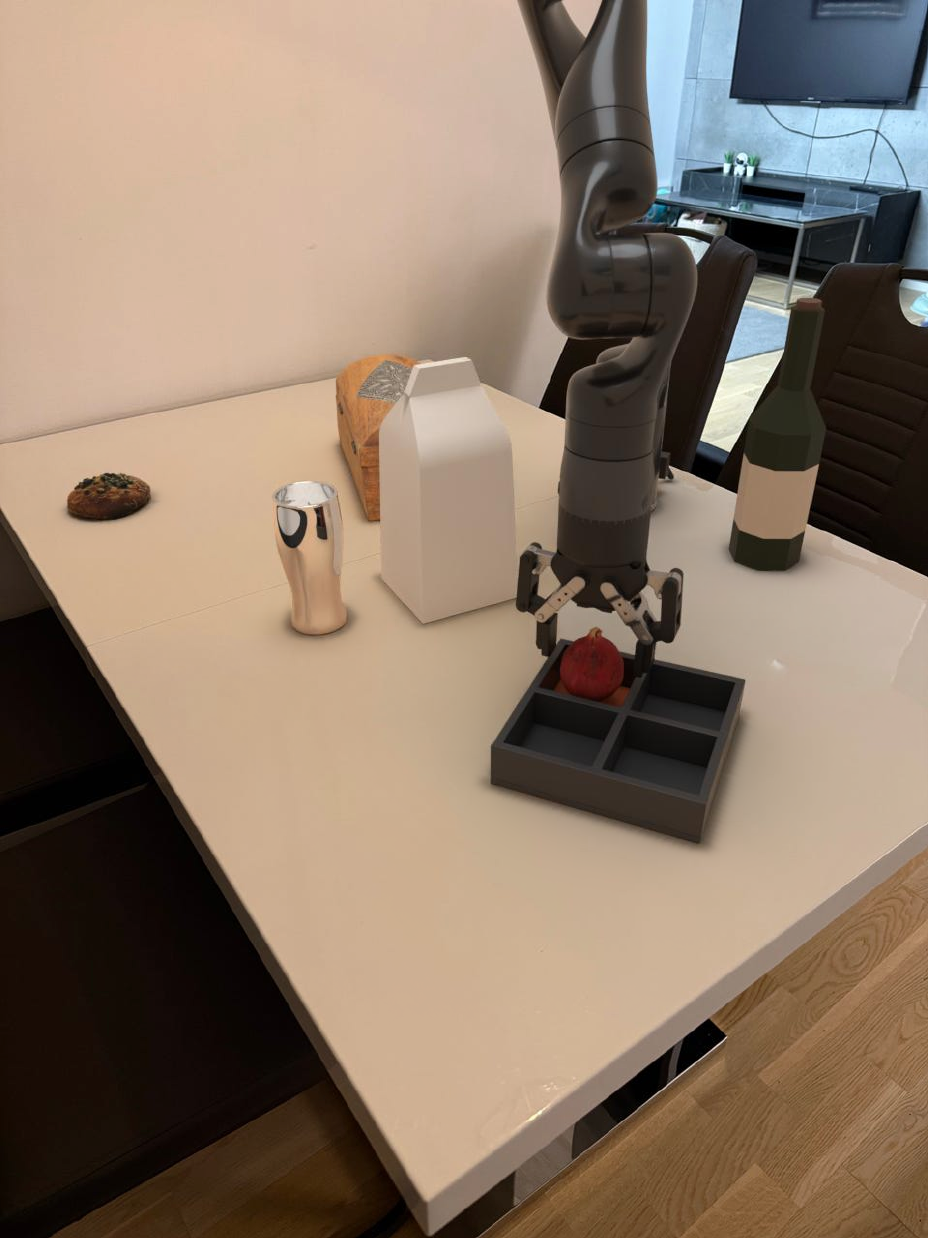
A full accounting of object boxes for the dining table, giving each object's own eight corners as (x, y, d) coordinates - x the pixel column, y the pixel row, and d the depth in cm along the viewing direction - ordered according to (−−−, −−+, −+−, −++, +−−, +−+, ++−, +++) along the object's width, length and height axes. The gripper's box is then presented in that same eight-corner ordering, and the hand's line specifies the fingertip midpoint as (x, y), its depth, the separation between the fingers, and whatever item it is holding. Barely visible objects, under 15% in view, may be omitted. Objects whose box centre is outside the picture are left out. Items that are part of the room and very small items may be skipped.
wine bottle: (803, 547, 113) (855, 295, 97) (794, 577, 107) (847, 312, 91) (735, 534, 116) (774, 288, 100) (721, 563, 110) (761, 305, 94)
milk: (423, 623, 99) (412, 387, 85) (381, 578, 108) (365, 357, 94) (518, 596, 104) (523, 368, 90) (471, 555, 112) (469, 341, 99)
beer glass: (289, 605, 103) (273, 481, 95) (352, 602, 103) (340, 478, 95) (284, 639, 97) (266, 509, 89) (350, 635, 97) (338, 506, 89)
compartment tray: (558, 672, 91) (560, 637, 89) (739, 715, 85) (745, 679, 82) (490, 783, 77) (490, 745, 75) (699, 843, 71) (706, 804, 69)
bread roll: (98, 527, 120) (88, 490, 118) (54, 516, 126) (43, 481, 124) (169, 501, 127) (160, 466, 125) (123, 493, 134) (115, 459, 132)
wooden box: (483, 510, 123) (483, 410, 116) (361, 522, 120) (353, 421, 113) (440, 433, 148) (438, 347, 141) (338, 442, 145) (331, 355, 138)
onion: (618, 724, 82) (625, 651, 78) (554, 717, 83) (558, 644, 79) (622, 687, 87) (629, 616, 83) (561, 681, 88) (565, 610, 84)
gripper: (702, 493, 75) (680, 658, 83) (538, 468, 80) (533, 625, 88) (682, 531, 69) (660, 704, 77) (506, 501, 74) (504, 666, 82)
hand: (593, 662), depth 83 cm, fingers open, 8 cm apart
